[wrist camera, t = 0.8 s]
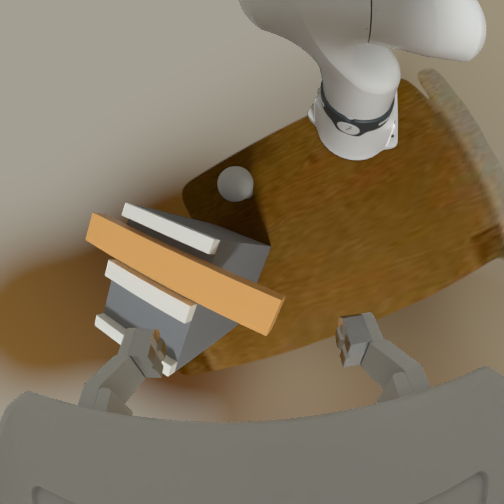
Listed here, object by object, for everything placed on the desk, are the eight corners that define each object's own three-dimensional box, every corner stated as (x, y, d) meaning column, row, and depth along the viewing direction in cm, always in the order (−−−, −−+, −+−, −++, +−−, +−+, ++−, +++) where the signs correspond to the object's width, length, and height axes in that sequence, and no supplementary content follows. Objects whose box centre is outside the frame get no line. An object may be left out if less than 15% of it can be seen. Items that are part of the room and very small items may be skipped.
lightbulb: (230, 183, 55) (208, 167, 44) (259, 175, 53) (243, 156, 43) (236, 212, 54) (215, 202, 44) (266, 204, 53) (251, 192, 42)
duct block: (215, 224, 55) (125, 202, 29) (271, 246, 53) (214, 239, 26) (190, 297, 57) (94, 325, 30) (241, 322, 54) (168, 376, 27)
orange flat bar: (106, 214, 32) (92, 212, 29) (285, 295, 26) (281, 300, 23) (99, 240, 32) (85, 239, 29) (271, 328, 26) (266, 335, 24)
